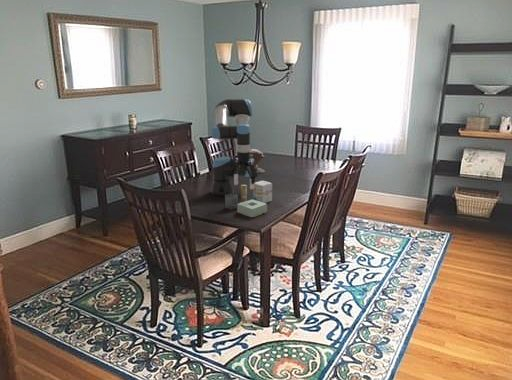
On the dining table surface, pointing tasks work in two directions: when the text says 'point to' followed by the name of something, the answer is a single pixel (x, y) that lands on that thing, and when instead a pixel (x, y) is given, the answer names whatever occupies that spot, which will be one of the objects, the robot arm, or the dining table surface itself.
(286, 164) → the dining table surface
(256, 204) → the socket block
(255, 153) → the cherub figurine
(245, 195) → the birch dowel
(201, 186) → the dining table surface
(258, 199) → the ink box
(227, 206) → the dark grey block
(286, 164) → the dining table surface
